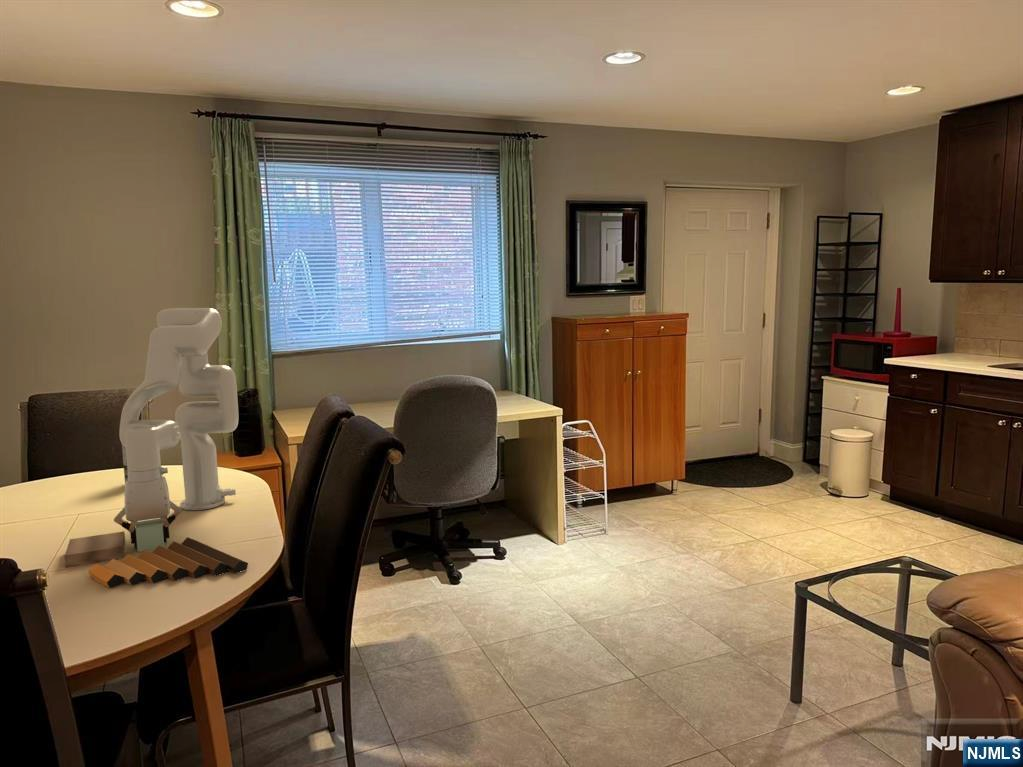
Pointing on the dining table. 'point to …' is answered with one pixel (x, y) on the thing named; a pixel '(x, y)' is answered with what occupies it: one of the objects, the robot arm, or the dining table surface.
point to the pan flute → (167, 564)
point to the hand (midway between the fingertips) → (150, 542)
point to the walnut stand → (95, 549)
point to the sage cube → (149, 534)
